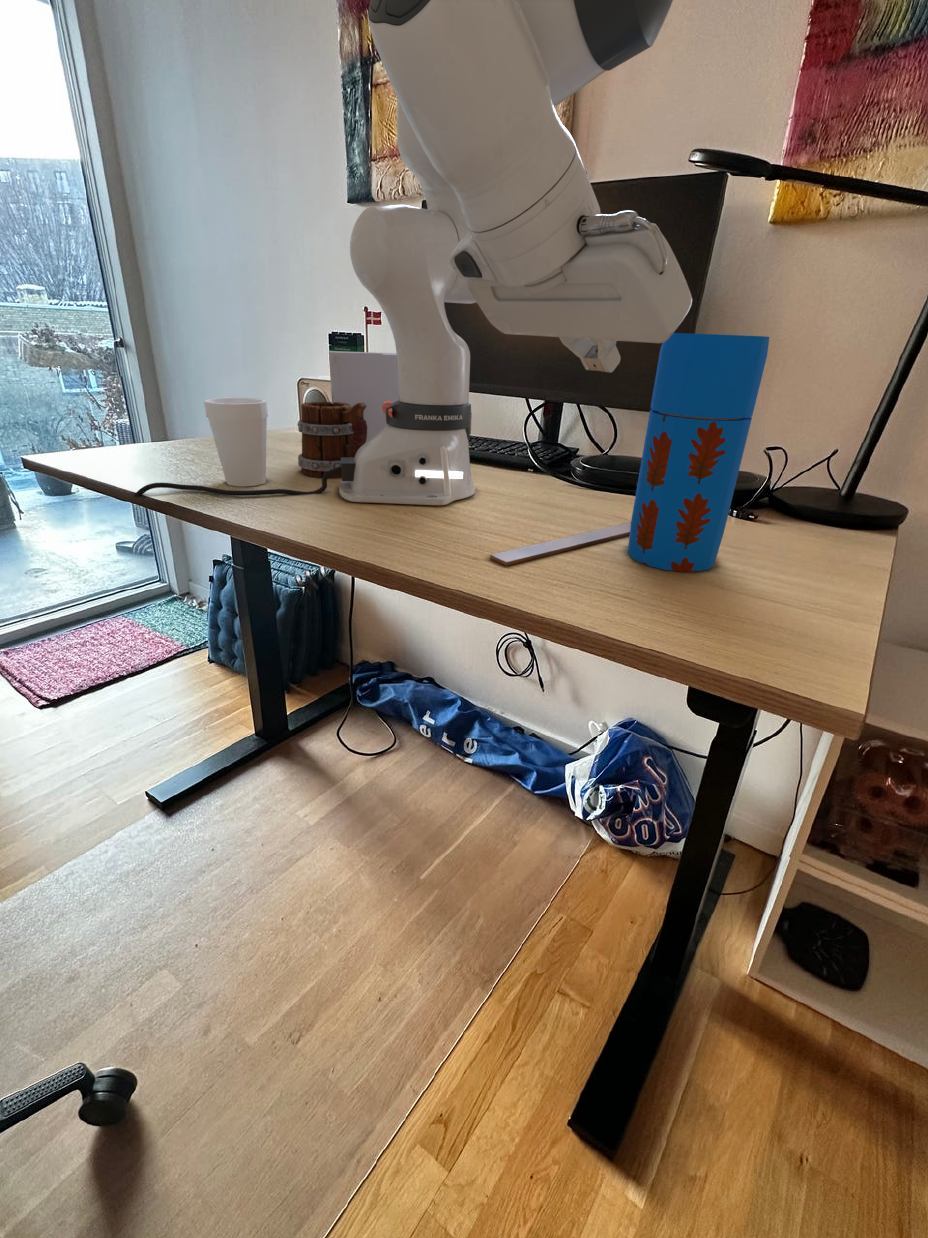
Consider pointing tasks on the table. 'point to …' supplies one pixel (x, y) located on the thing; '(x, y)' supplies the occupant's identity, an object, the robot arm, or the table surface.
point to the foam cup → (240, 438)
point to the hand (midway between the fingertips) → (604, 365)
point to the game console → (365, 383)
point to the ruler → (561, 544)
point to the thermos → (694, 447)
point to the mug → (330, 435)
